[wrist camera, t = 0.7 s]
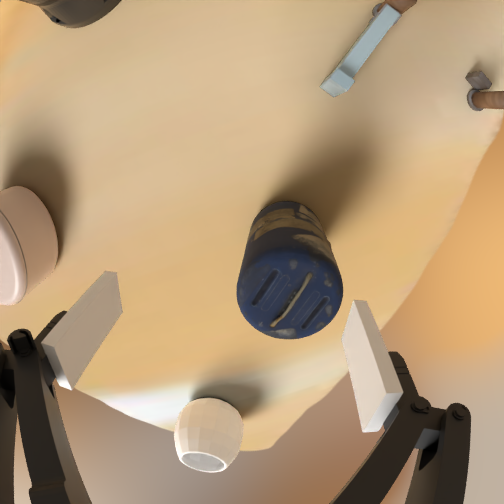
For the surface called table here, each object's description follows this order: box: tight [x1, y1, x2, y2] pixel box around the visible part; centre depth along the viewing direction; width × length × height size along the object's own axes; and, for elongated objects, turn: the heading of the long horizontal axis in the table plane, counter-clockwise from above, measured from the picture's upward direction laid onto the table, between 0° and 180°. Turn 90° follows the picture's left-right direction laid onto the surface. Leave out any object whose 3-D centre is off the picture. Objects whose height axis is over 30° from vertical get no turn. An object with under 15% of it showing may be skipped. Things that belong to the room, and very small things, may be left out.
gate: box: [320, 3, 402, 97], centre depth 27 cm, size 13×2×8 cm, turn 147°
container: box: [0, 186, 58, 305], centre depth 39 cm, size 18×18×12 cm
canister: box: [237, 201, 343, 339], centre depth 33 cm, size 10×10×18 cm
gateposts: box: [373, 0, 504, 111], centre depth 25 cm, size 21×4×8 cm, turn 57°
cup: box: [174, 398, 244, 472], centre depth 51 cm, size 13×13×14 cm
